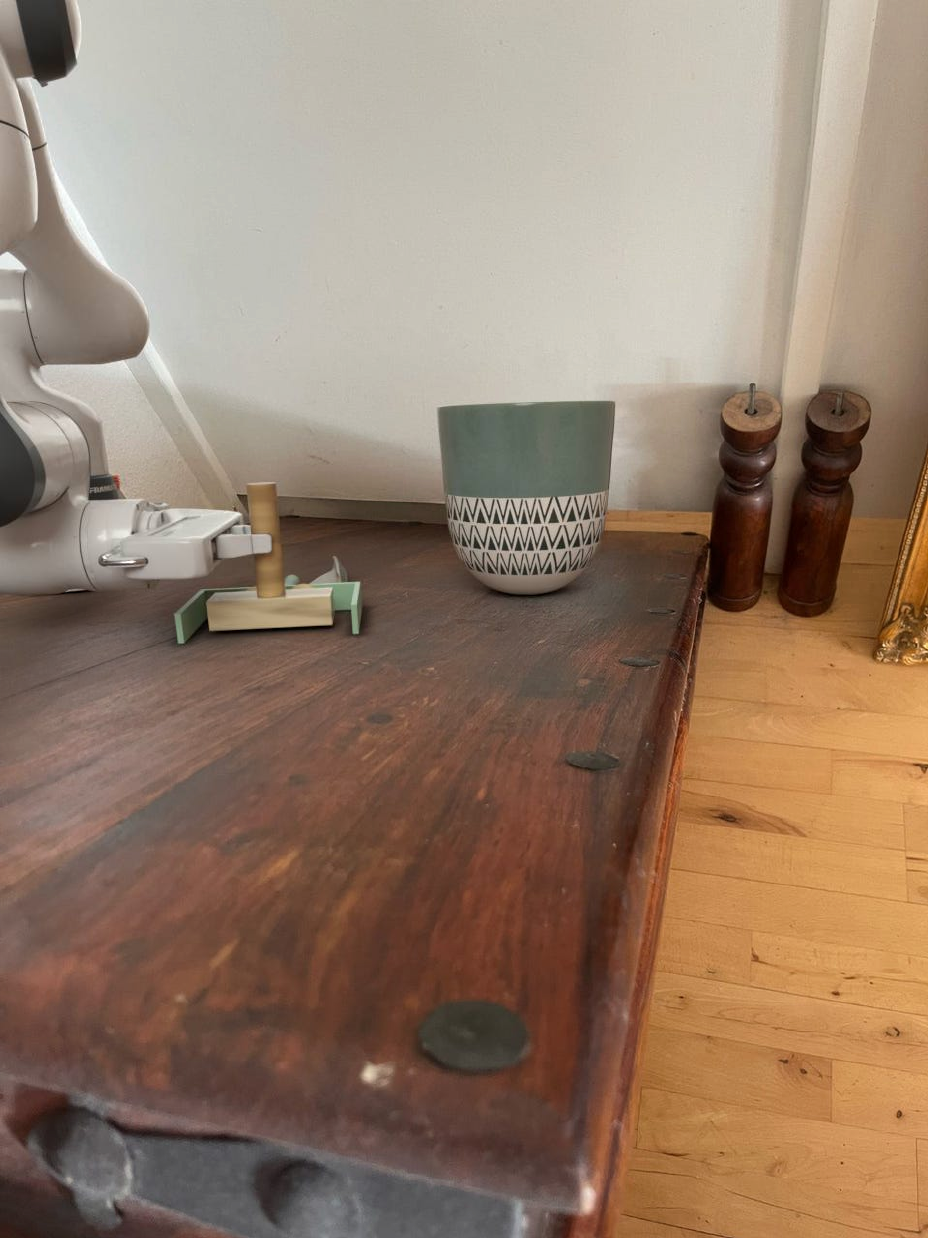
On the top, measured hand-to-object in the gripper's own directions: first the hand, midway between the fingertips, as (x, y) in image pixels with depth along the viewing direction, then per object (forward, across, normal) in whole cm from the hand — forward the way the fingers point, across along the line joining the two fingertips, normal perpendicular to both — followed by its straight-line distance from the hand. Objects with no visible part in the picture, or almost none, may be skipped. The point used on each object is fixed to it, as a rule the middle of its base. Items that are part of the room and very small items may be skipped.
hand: (275, 539), depth 74 cm
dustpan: (-1, +6, +9) cm, 11 cm away
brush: (-1, 0, +8) cm, 9 cm away
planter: (+27, +11, +9) cm, 31 cm away
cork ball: (+2, +4, +7) cm, 8 cm away
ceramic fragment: (+4, +17, +9) cm, 20 cm away
